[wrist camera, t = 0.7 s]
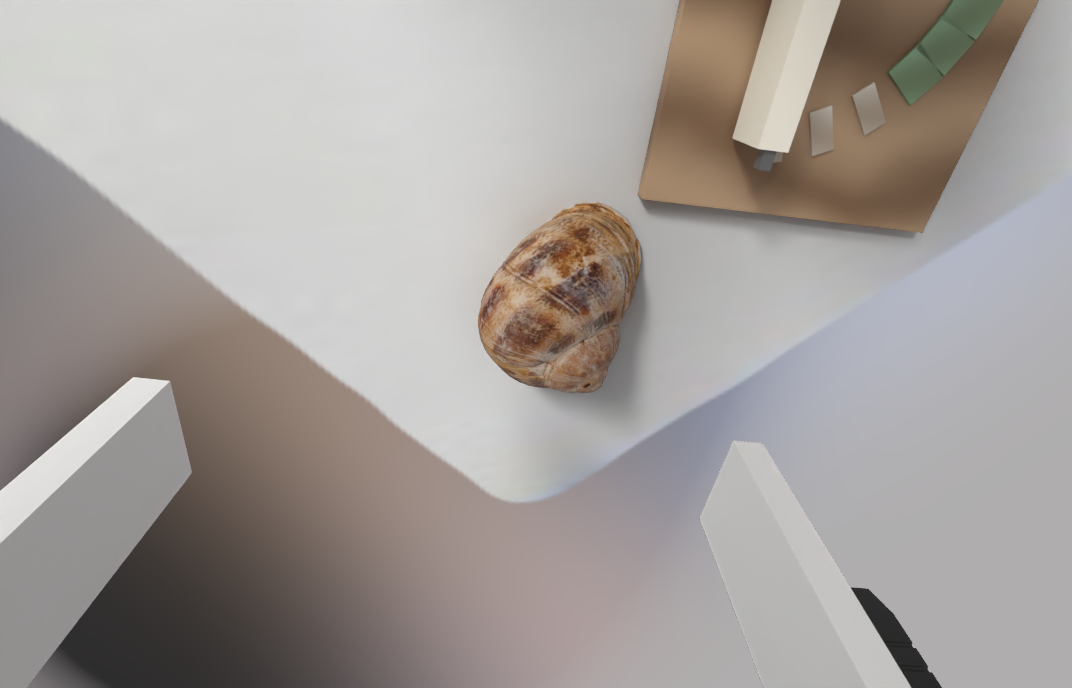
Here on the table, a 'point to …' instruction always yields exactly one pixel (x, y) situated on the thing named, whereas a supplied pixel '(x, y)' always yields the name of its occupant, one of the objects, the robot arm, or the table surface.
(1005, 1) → the dial board
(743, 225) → the table surface
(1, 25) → the table surface
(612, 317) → the seashell
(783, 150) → the lever
